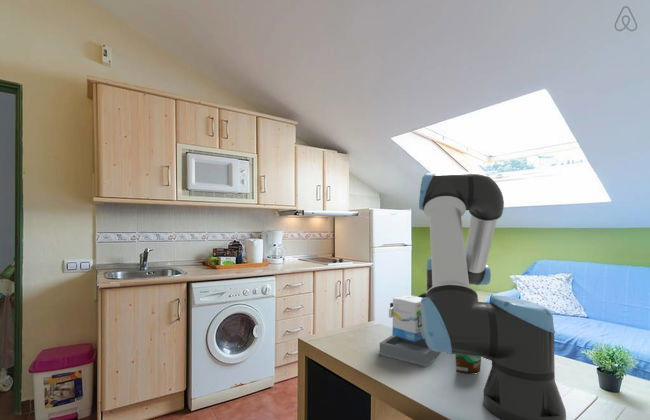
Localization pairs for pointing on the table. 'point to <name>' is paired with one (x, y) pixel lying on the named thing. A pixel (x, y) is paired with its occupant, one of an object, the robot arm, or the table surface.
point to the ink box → (407, 318)
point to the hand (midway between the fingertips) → (405, 316)
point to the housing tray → (407, 350)
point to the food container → (467, 364)
